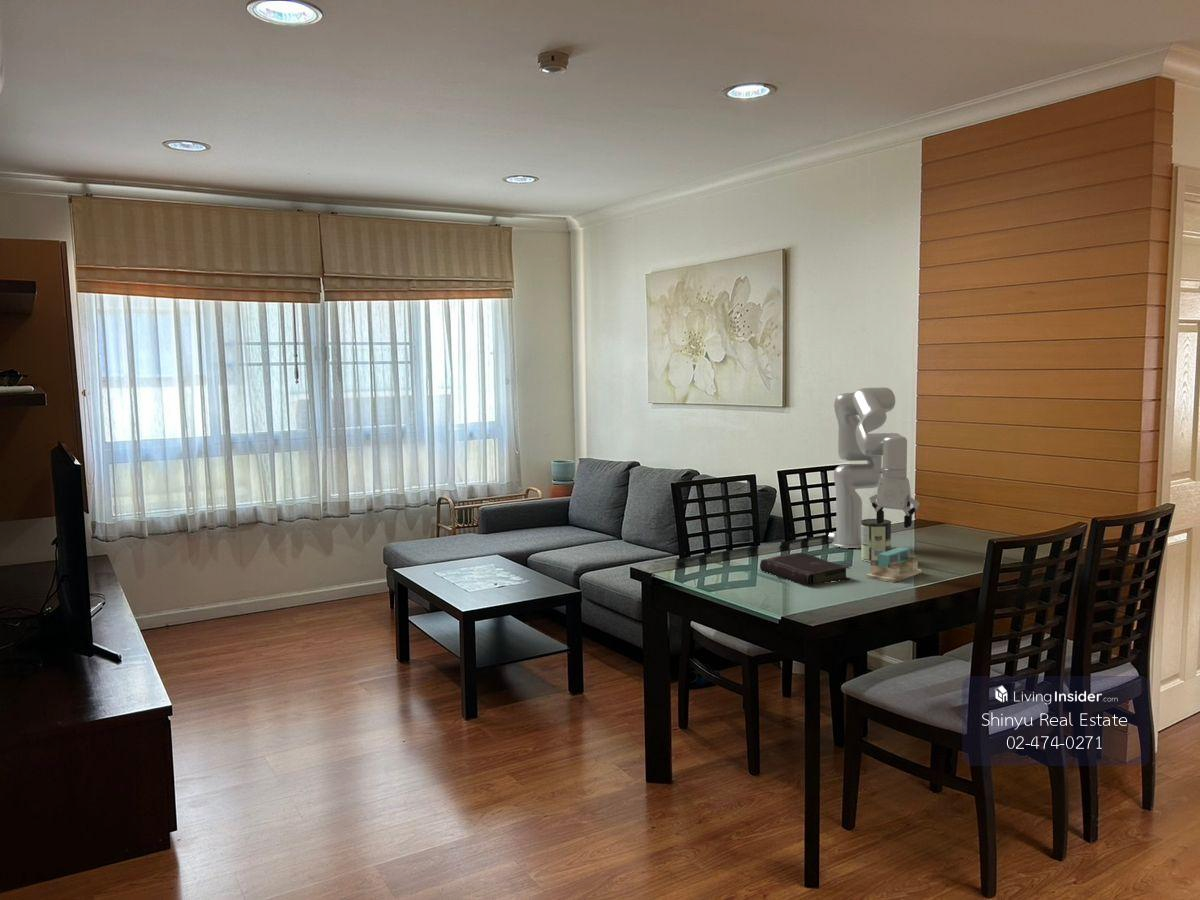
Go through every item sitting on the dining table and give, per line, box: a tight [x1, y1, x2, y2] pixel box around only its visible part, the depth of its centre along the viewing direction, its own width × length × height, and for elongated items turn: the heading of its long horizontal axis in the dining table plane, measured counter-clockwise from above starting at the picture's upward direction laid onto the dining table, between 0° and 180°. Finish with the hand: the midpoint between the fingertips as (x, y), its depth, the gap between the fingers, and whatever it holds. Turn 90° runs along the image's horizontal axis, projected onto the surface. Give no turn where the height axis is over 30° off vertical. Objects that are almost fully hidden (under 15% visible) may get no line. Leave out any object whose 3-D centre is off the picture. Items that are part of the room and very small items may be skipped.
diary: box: [759, 552, 851, 587], centre depth 288 cm, size 19×25×5 cm
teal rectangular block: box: [878, 547, 911, 568], centre depth 284 cm, size 4×14×4 cm, turn 132°
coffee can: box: [860, 518, 892, 563], centre depth 306 cm, size 10×10×14 cm
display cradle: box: [865, 555, 923, 584], centre depth 284 cm, size 10×18×6 cm, turn 132°
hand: (893, 525), depth 283 cm, fingers open, 9 cm apart
